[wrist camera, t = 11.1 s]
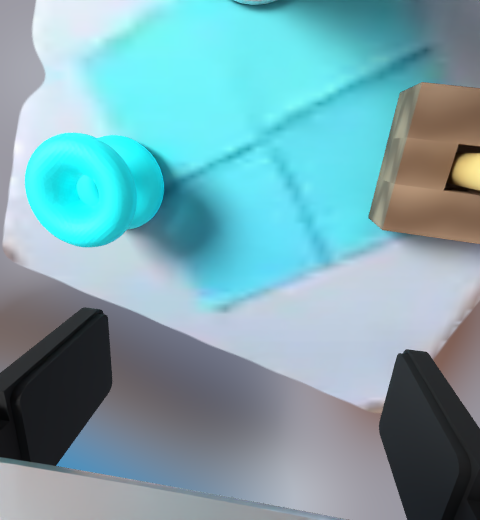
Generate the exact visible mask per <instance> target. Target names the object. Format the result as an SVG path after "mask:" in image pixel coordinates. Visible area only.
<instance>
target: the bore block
mask: <svg viewBox="0 0 480 520" xmlns="http://www.w3.org/2000/svg"><path fill="white" fill-rule="evenodd" d="M456 152H459V153H480V88H472V87H463V86H453V85H444V84H435V83H425V82H421V83H419V84H417V85H415V86H413V87H411V88H409V89H407V90H405V91H402V92H400V95H399V98H398V102H397V106H396V110H395V114H394V118H393V122H392V126H391V130H390V134H389V138H388V142H387V146H386V150H385V154H384V158H383V162H382V166H381V170H380V174H379V178H378V181H377V185H376V189H375V193H374V197H373V201H372V205H371V209H370V213H369V217H368V218H369V219H370V220H372V221H373V222H374V223H375V224H376V225H377V226H378V227H380V228H381V229H382V230H387V231H394V232H401V233H407V234H414V235H421V236H428V237H435V238H442V239H449V240H456V241H463V242H470V243H476V244H480V191H479V190H475V189H470V188H466V187H462V186H457V185H453V184H449V183H446V182H447V179H448V176H449V173H450V170H451V167H452V164H453V160H454V157H455V154H456Z"/></svg>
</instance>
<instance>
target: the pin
mask: <svg viewBox="0 0 480 520" xmlns="http://www.w3.org/2000/svg"><path fill="white" fill-rule="evenodd" d="M446 183H449V184H453V185H457V186H462V187H466V188H470V189H475V190H479V191H480V153H459V152H456V154H455V157H454V160H453V164H452V167H451V170H450V173H449V176H448V179H447V182H446Z"/></svg>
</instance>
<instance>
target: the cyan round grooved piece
mask: <svg viewBox="0 0 480 520" xmlns="http://www.w3.org/2000/svg"><path fill="white" fill-rule="evenodd" d="M25 188H26V194H27V198H28V201H29V204H30V206H31V209H32V211H33V212H34V214H35V216H36V217H37V219H38V220H39V222H40V223H41V224H42V225H43V226H44V227H45V228H46V229H47V230H48V231H49V232H50V233H51V234H53V235H54V236H55V237H57V238H59V239H60V240H62V241H64V242H67V243H69V244H72V245H75V246H80V247H98V246H103V245H106V244H108V243H111V242H113V241H114V240H116V239H117V238H119V237H120V236H121V235H122V234H123V233H124V232H125V231H126V230H127V229H133V228H137V227H140V226H142V225H144V224H145V223H147V222H148V221H150V220H151V219H152V218H153V217H154V216H155V214H156V213H157V211H158V210H159V208H160V206H161V203H162V200H163V195H164V180H163V175H162V172H161V169H160V167H159V165H158V163H157V161H156V160H155V158H154V157H153V155H152V154H151V153H150V152H149V151H148V150H147V149H146V148H145V147H144V146H142V145H141V144H140V143H138V142H136V141H134V140H132V139H130V138H127V137H123V136H116V135H109V136H103V137H100V138H95V137H93V136H90V135H86V134H81V133H64V134H60V135H56V136H54V137H51V138H49V139H48V140H46V141H44V142H43V143H42V144H41V145H40V146H39V147H38V148H37V149H36V150H35V152H34V153H33V154H32V156H31V158H30V160H29V162H28V165H27V169H26V174H25Z"/></svg>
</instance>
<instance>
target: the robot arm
mask: <svg viewBox="0 0 480 520" xmlns="http://www.w3.org/2000/svg"><path fill="white" fill-rule="evenodd" d="M234 1H236V2H239V3H244V4H250V5H258V4H267V3H270V2H274V1H277V0H234ZM111 386H112V370H111V357H110V342H109V328H108V317H107V316H106V315H104V314H103V311H102V310H100V309H92V308H82V309H80V310H79V311H78V312H77V313H75V314H74V315H73V316H72V317H70V318H69V319H68V320H67V321H65V322H64V323H63V324H62V325H60V326H59V327H58V328H56V329H55V330H54V331H53V332H51V333H50V334H49V335H48V336H46V337H45V338H44V339H43V340H41V341H40V342H39V343H37V344H36V345H35V346H34V347H33V348H31V349H30V350H29V351H27V352H26V353H25V354H24V355H22V356H21V357H20V358H19V359H17V360H16V361H15V362H13V363H12V364H11V365H10V366H9V367H7V368H6V369H5V370H4V371H2V372H1V373H0V520H348V519H342V518H337V517H332V516H327V515H321V514H316V513H311V512H306V511H300V510H295V509H289V508H285V507H279V506H274V505H269V504H264V503H258V502H252V501H247V500H242V499H236V498H231V497H225V496H220V495H215V494H209V493H204V492H198V491H193V490H187V489H182V488H176V487H171V486H165V485H160V484H154V483H149V482H143V481H138V480H132V479H127V478H121V477H115V476H110V475H103V474H97V473H93V472H86V471H81V470H76V469H69V468H64V467H59V466H56V465H57V463H58V462H59V461H60V459H61V458H62V457H63V455H64V454H65V452H66V451H67V450H68V448H69V447H70V446H71V444H72V443H73V441H74V440H75V439H76V437H77V436H78V434H79V433H80V432H81V430H82V429H83V428H84V426H85V425H86V423H87V422H88V420H89V419H90V418H91V417H92V415H93V413H94V412H95V411H96V409H97V408H98V407H99V405H100V404H101V403H102V401H103V400H104V398H105V397H106V396H107V394H108V393H109V391H110V389H111ZM379 430H380V436H381V439H382V442H383V445H384V449H385V451H386V455H387V458H388V461H389V464H390V467H391V470H392V473H393V477H394V480H395V483H396V486H397V489H398V492H399V495H400V498H401V501H402V505H403V508H404V511H405V514H406V517H407V520H480V428H479V427H478V426H477V424H476V423H475V421H474V420H473V418H472V417H471V415H470V414H469V412H468V411H467V409H466V408H465V407H464V405H463V404H462V402H461V401H460V399H459V398H458V396H457V395H456V393H455V392H454V390H453V389H452V387H451V386H450V385H449V383H448V382H447V380H446V379H445V378H444V376H443V374H442V373H441V371H440V370H439V368H438V367H437V365H436V364H435V362H434V361H433V359H432V358H431V357H430V355H429V354H428V353H427V352H423V351H415V350H405V351H404V353H403V354H401V353H399V354H398V355H397V358H396V362H395V365H394V369H393V373H392V377H391V381H390V384H389V388H388V392H387V396H386V400H385V403H384V407H383V411H382V415H381V419H380V423H379Z"/></svg>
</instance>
